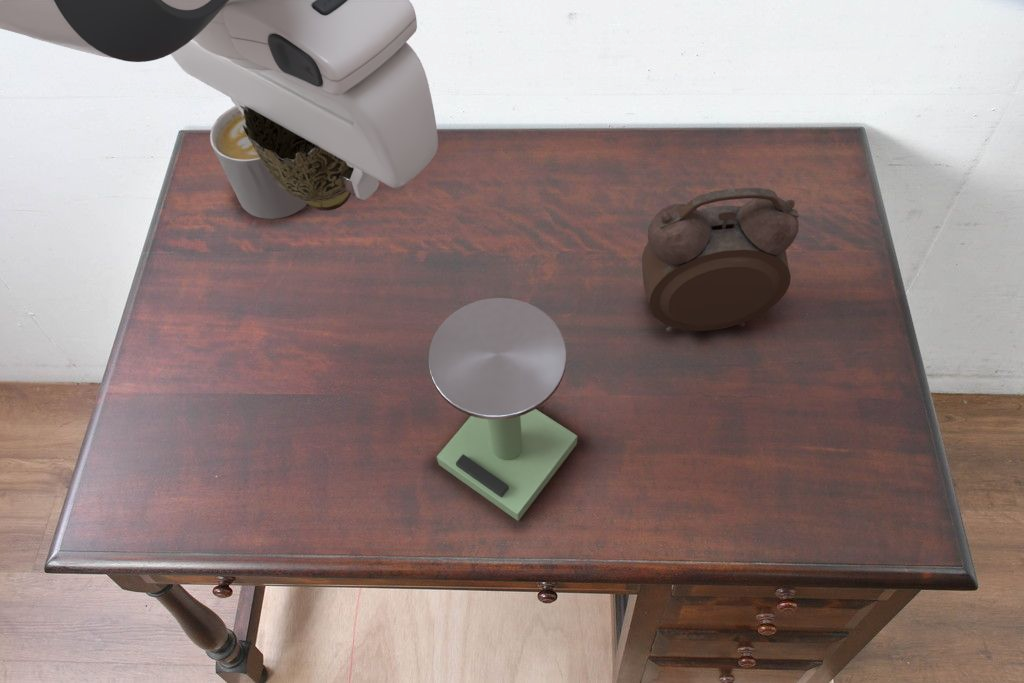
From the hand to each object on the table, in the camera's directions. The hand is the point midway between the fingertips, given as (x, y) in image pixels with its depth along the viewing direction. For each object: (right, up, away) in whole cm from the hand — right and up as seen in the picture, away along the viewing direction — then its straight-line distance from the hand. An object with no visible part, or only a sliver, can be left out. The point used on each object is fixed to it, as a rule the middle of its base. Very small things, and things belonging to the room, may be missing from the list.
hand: (319, 165), depth 54 cm
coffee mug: (-15, +7, +46) cm, 49 cm away
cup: (0, -2, +3) cm, 3 cm away
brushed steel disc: (+12, -14, +10) cm, 21 cm away
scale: (+13, -23, +26) cm, 37 cm away
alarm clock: (+34, -9, +34) cm, 49 cm away
